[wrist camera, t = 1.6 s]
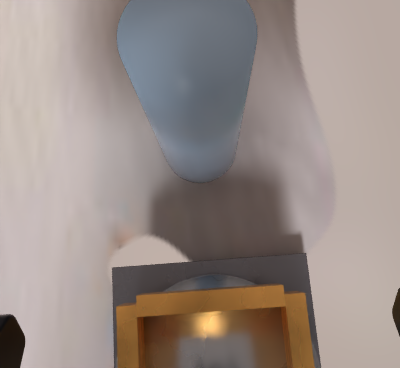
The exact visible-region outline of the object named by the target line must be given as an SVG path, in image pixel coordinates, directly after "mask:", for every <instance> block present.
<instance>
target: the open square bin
mask: <svg viewBox="0 0 400 368" xmlns="http://www.w3.org/2000/svg"><path fill="white" fill-rule="evenodd" d="M112 282H113V329H114V368H321V363H320V355H319V348H318V340H317V333H316V326H315V317H314V311H313V302H312V295H311V287H310V279H309V272H308V265H307V256H306V253H302V254H289V255H275V256H262V257H249V258H235V259H222V260H208V261H195V262H182V263H168V264H155V265H141V266H129V267H114V268H112Z"/></svg>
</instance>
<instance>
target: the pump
mask: <svg viewBox="0 0 400 368" xmlns="http://www.w3.org/2000/svg"><path fill="white" fill-rule="evenodd" d="M256 44H257V24H256V19H255V16H254V13H253V11H252V9H251V7H250V5H249V3H248V2H247V1H246V0H130V1H129V3H128V4H127V6H126V7H125V9H124V11H123V13H122V15H121V18H120V21H119V24H118V29H117V46H118V51H119V55H120V57H121V60H122V62H123V65H124V67H125V69H126V71H127V73H128V76H129V78H130V80H131V82H132V84H133V87H134V89H135V91H136V93H137V96H138V98H139V100H140V102H141V104H142V107H143V109H144V111H145V113H146V115H147V118H148V120H149V122H150V124H151V127H152V129H153V131H154V133H155V135H156V138H157V140H158V142H159V144H160V146H161V149H162V151H163V153H164V155H165V157H166V160H167V162H168V164H169V166H170V167H171V169H172V170H173V171H174V172H175V173H176V174H177V175H178V176H180V177H181V178H183V179H185V180H187V181H191V182H196V183H204V182H209V181H213V180H215V179H217V178H219V177H221V176H222V175H223V174H224V173H225V172H226V171H227V170H228V169H229V168H230V167H231V165H232V163H233V161H234V158H235V154H236V149H237V143H238V138H239V133H240V128H241V122H242V117H243V112H244V107H245V101H246V96H247V91H248V86H249V80H250V75H251V70H252V65H253V59H254V54H255V49H256Z"/></svg>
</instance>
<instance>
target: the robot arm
mask: <svg viewBox="0 0 400 368" xmlns="http://www.w3.org/2000/svg"><path fill="white" fill-rule="evenodd" d="M392 314H393V319H394V322H395V325H396V327H397V330H398V333H399V336H400V288H399V289H398V292H397V296H396V299H395V302H394V305H393V309H392ZM24 347H25V336H24V333H23V331H22V329H21V328H20V326H19V324H18V322H17V320H16V318H15V317H14V316H13V315H11V314H6V315H0V368H20V365H21V361H22V356H23V352H24Z"/></svg>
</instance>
